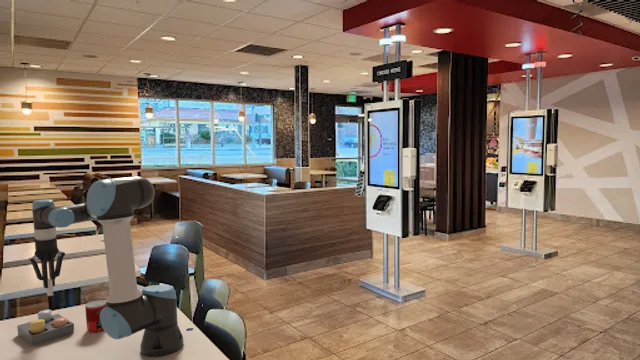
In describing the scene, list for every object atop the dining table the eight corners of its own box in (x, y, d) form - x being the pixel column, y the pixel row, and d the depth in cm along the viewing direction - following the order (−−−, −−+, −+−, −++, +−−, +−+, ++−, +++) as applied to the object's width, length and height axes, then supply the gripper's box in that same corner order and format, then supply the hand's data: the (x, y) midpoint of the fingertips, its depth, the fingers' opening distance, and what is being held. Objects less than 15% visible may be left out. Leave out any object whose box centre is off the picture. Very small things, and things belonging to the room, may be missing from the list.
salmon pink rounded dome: (69, 327, 180) (68, 319, 179) (56, 331, 176) (55, 323, 176) (64, 324, 183) (64, 316, 182) (52, 328, 179) (51, 320, 179)
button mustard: (47, 330, 173) (46, 321, 173) (33, 334, 170) (32, 325, 169) (42, 326, 176) (42, 318, 176) (29, 331, 173) (28, 322, 172)
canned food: (99, 333, 178) (98, 307, 177) (82, 332, 180) (80, 306, 179) (112, 325, 186) (110, 300, 185) (95, 324, 187) (93, 299, 186)
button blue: (53, 319, 183) (53, 311, 183) (40, 323, 180) (40, 315, 179) (49, 316, 186) (48, 308, 186) (36, 320, 183) (35, 312, 182)
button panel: (74, 332, 180) (73, 323, 179) (32, 346, 168) (31, 336, 168) (58, 322, 190) (57, 313, 190) (18, 335, 179) (17, 325, 178)
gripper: (59, 233, 185) (63, 288, 188) (23, 239, 175) (28, 297, 178) (67, 236, 180) (70, 292, 183) (30, 242, 170) (35, 301, 173)
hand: (50, 294), depth 180 cm, fingers closed
